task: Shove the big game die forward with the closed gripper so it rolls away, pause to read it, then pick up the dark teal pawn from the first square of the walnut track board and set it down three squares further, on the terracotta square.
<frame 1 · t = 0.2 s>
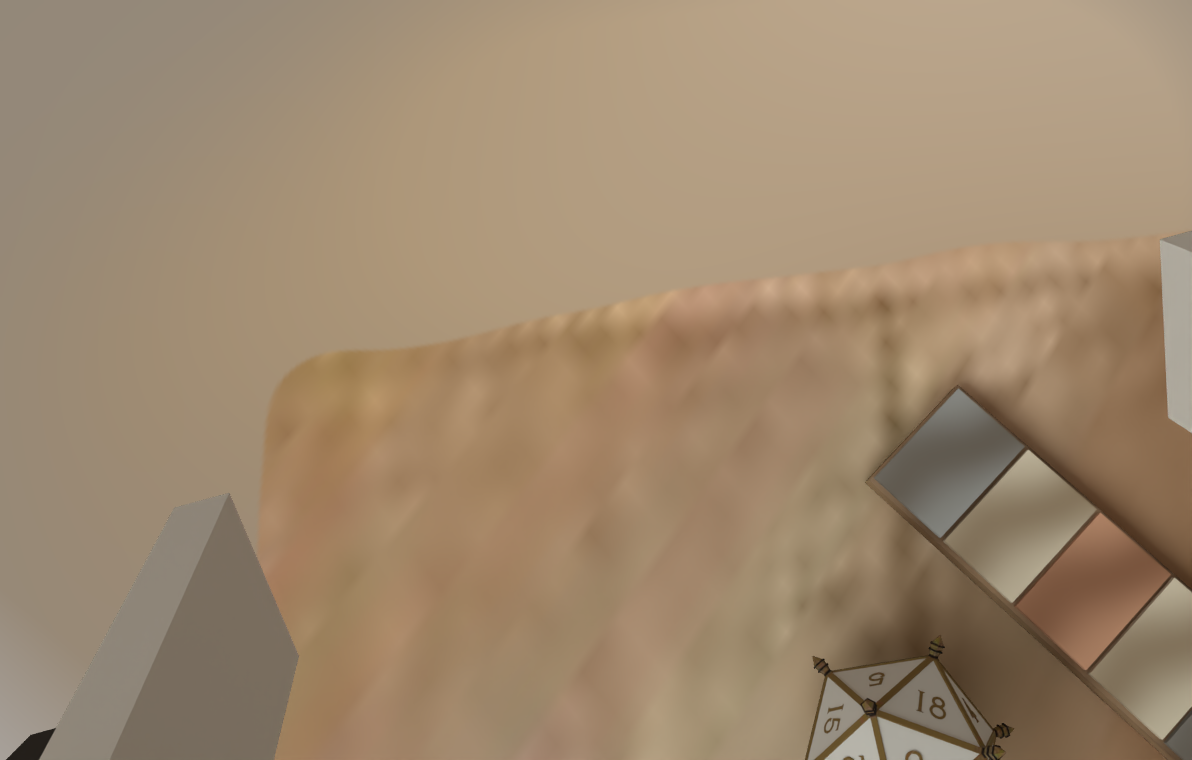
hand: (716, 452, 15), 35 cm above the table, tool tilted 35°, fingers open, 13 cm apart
board: (1118, 623, 48), on the table
game die: (879, 741, 47), on the table
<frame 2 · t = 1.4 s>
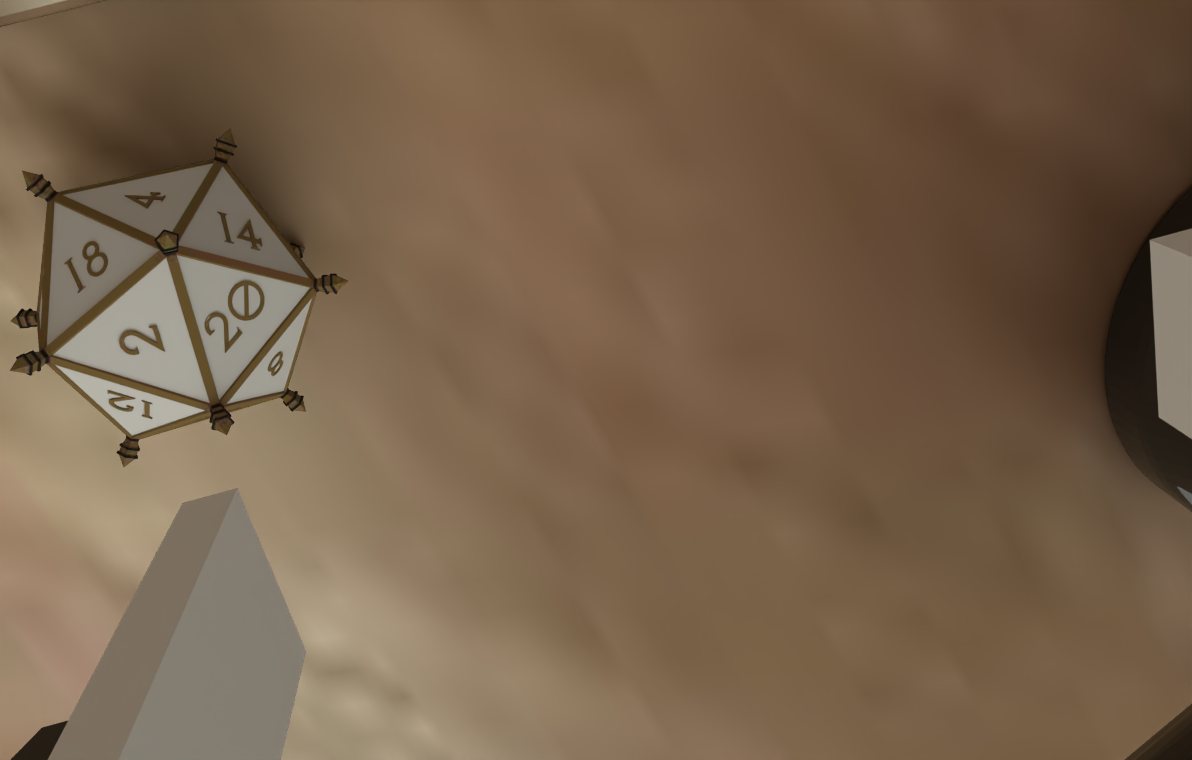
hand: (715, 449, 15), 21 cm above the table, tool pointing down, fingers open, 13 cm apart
game die: (208, 262, 34), on the table
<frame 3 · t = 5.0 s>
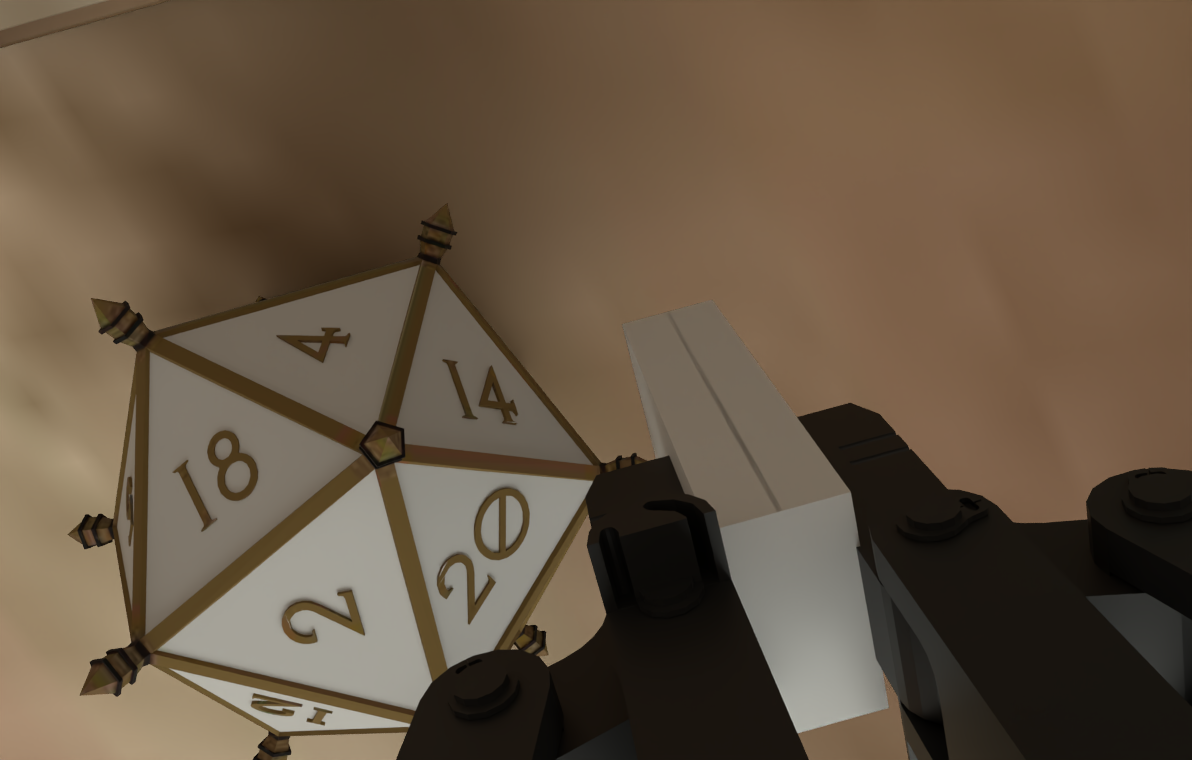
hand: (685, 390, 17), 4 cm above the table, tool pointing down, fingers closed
game die: (375, 404, 21), on the table, touching gripper
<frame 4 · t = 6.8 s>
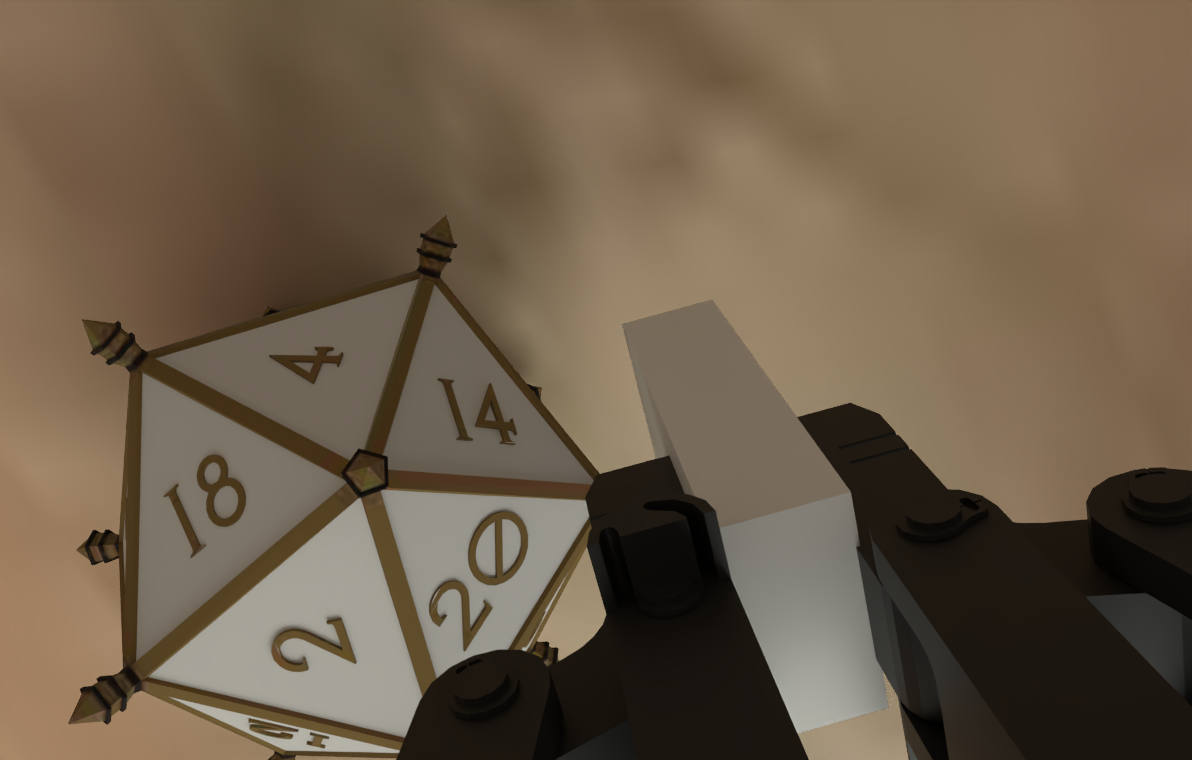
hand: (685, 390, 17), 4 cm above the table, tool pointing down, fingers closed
game die: (387, 414, 21), on the table, touching gripper
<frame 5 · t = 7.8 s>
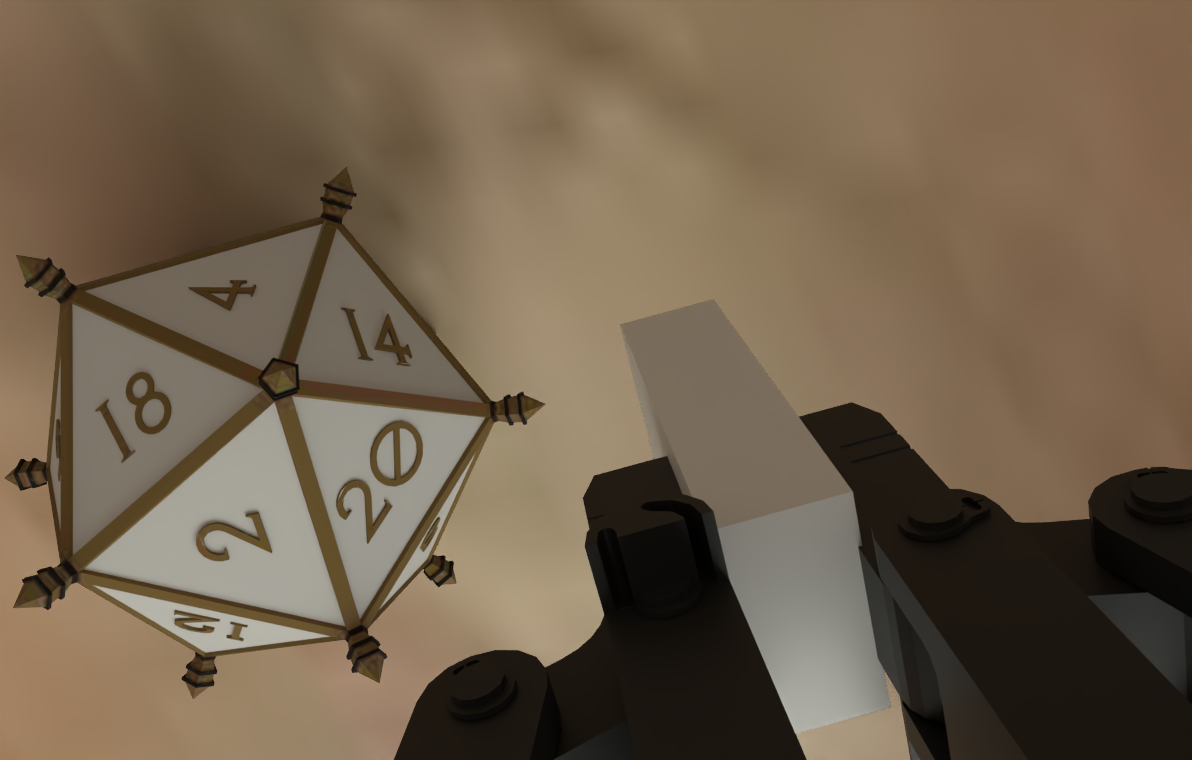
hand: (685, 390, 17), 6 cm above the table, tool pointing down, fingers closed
game die: (294, 358, 23), on the table
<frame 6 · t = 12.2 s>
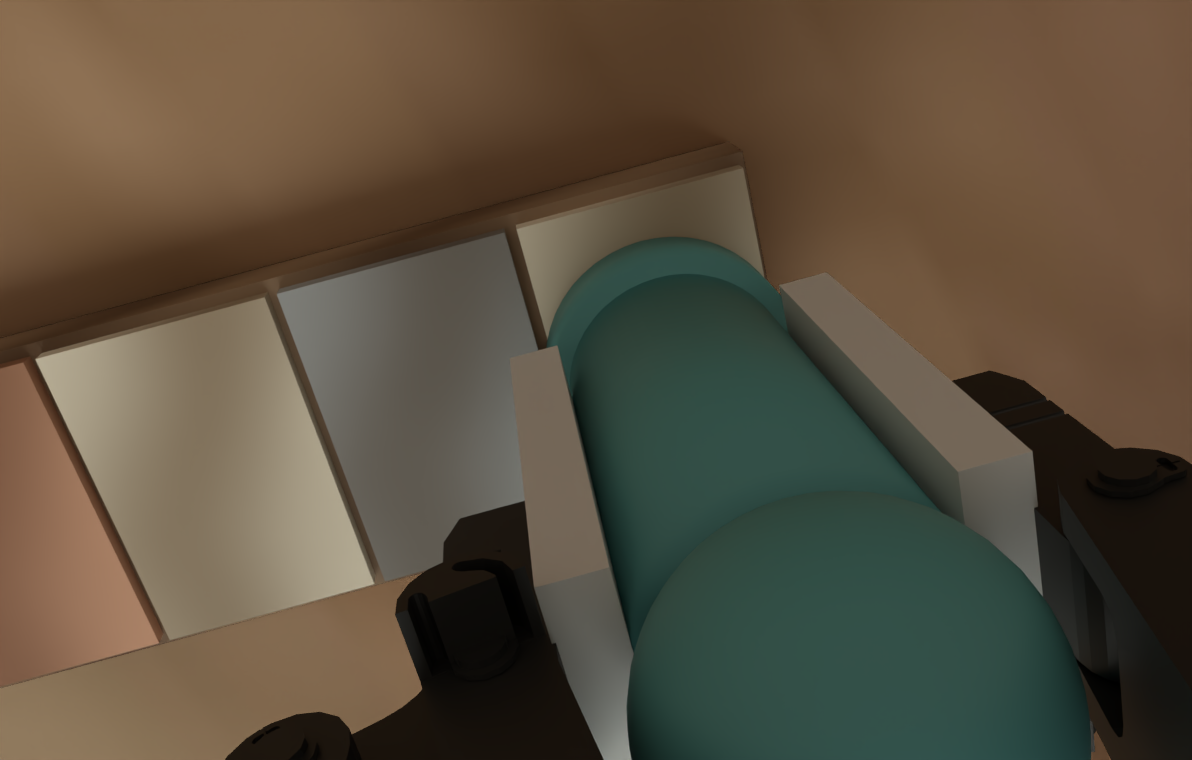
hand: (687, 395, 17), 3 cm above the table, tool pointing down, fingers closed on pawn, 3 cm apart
board: (123, 475, 20), on the table
pawn: (667, 356, 19), point 1 cm above the table, touching gripper
when the fingers open (4 cm above the table, at t = 16.5 s): pawn stays where it is, resting on board.
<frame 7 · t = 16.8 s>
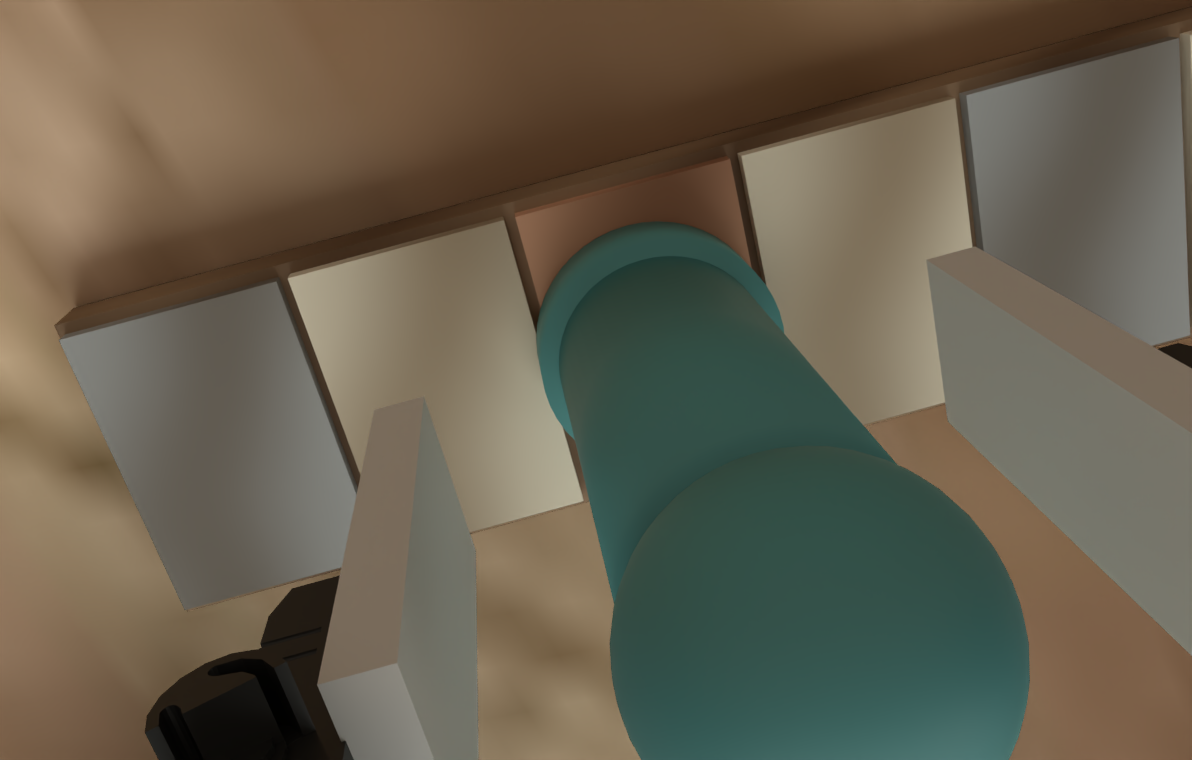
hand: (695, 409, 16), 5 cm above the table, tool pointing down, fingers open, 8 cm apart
board: (748, 288, 21), on the table
pawn: (652, 336, 20), point 1 cm above the table, touching board
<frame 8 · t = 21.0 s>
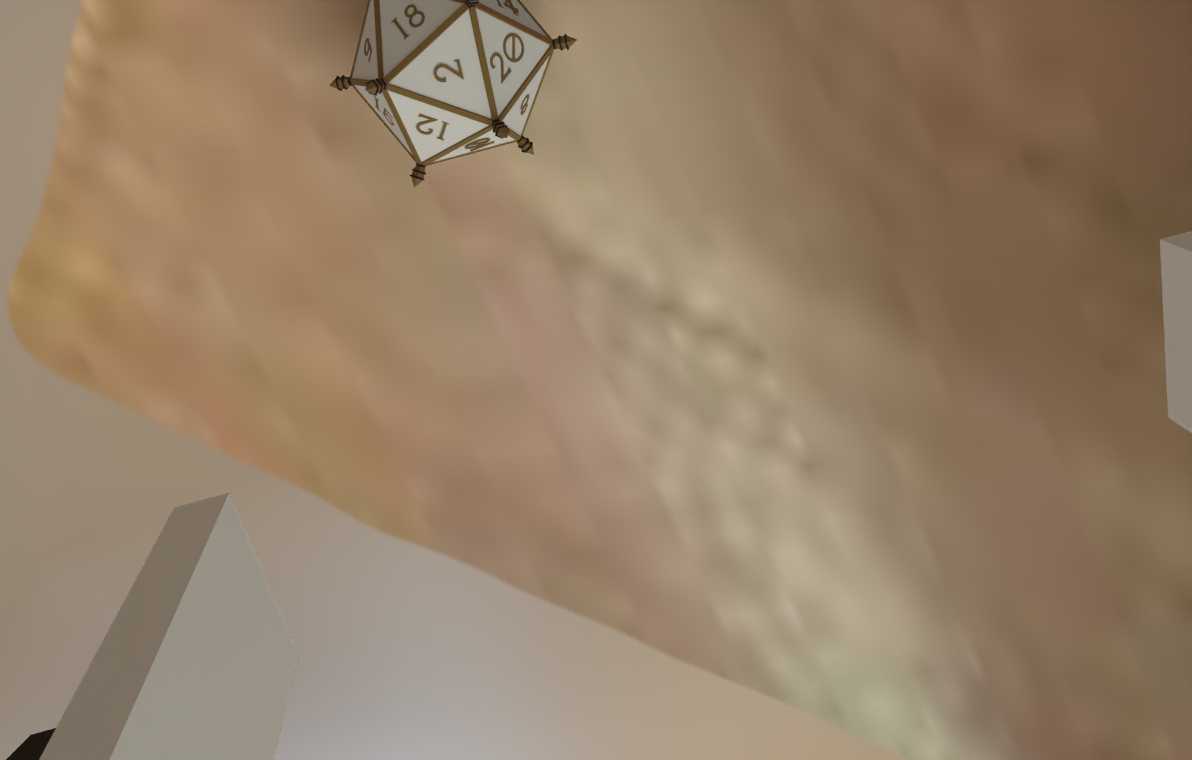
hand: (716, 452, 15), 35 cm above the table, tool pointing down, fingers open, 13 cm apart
game die: (452, 54, 46), on the table
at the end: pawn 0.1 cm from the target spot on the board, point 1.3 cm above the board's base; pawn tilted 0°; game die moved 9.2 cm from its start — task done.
